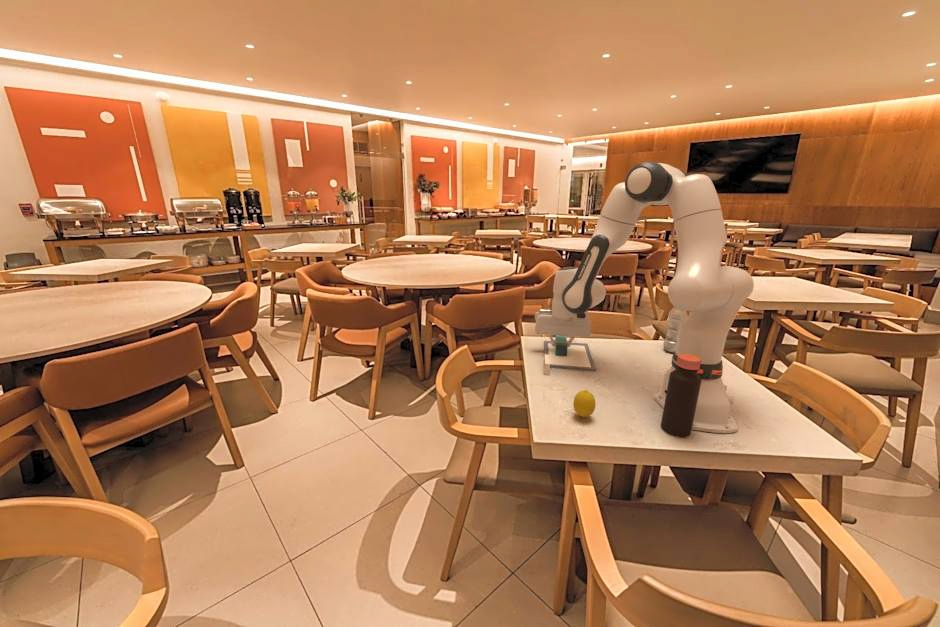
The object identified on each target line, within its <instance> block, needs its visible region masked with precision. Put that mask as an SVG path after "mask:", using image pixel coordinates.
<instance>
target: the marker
mask: <svg viewBox="0 0 940 627" xmlns="http://www.w3.org/2000/svg"><path fill="white" fill-rule="evenodd" d="M554 340H556V345H555V355H559V356H567V348H568V345H567V341H568V339H567V336H562V335H554Z"/></svg>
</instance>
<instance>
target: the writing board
mask: <svg viewBox="0 0 940 627" xmlns="http://www.w3.org/2000/svg"><path fill="white" fill-rule="evenodd" d="M543 348H544V349H543V351H544V352H543V353H544V354H543V355H544V356H543V357H545V354H548V355H549V356H550V369H562V370H573V371H574V370H575V371H588V372H597V367H596V365H595V362H594V359H593V356H592V353H591V350H590V347H589V344H588V343H583V342H582V343H581V342H571V344H570V347H568V348H567V356H559V355H555V346H552V341H551V340H543Z"/></svg>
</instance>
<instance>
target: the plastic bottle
mask: <svg viewBox="0 0 940 627" xmlns="http://www.w3.org/2000/svg"><path fill="white" fill-rule="evenodd" d="M688 316H689V315H688V311H683V310H680V309H678V308H676V307H675V306H673V307H672V308H671V310H670V311H669V312H668V317H667V318H668V319H667V320H668V323H667V324H668V325H667V332H666V334H665V339H664V340H663V349H664V350H665V351H666V352H668V353H672V354H673V353H674V351H676V345H677V340H678V334H679V329H680V326H681V325H682V323H683V322H684V321H685V320H686V319H687V318H688Z"/></svg>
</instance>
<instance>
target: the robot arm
mask: <svg viewBox="0 0 940 627" xmlns="http://www.w3.org/2000/svg"><path fill="white" fill-rule="evenodd" d="M720 201H721V200H720V198H719V195H718V191H717V190H716V188H715V185H714V183H713V181H712V180H711V178H710V177H709V176H708V175H705V174H703V173H702V174H701V173H696V174H689V175H688V173H686V172H685V171H684V170H682V169H681V168H678V167H674V166H672V165H670V164H668V163H663V162H656V161H643V162H640V163H638V164H636V165H634V166H633V167H631V169H630V170H629V172H628V173H627V174H626V177H625V180H624V182H620V183H619V182H618V183H617V184H615V186H613V188H612V190H611V191H610V194H609V195H608V197H607V199H606V201H605V202H604V204H603V207H602V209H601V212H600V214H599V217H598V219H597V224H596V226H595V229H594V231H593V233H592V236H591V238H590V241H589V243H588V245H587V247H586V249H585V251H584V254H583V256H582V258H581V260H580V263H579V264H578V267H577V266H565V267H560V268H559V269H557V271H556V272H555V274H554V280H553V289H552V292H553V298H552V302H551V309H541V308H540V309H538V310H536V311H535V312H534V320H535V323H534V332H535V334H536V335H546V336H547V335H549V336H548V337H549V339H550V341H552V346H555V345H556V340H555V339H554V336H555V335H562V336H566V337H569V340H567V345H568V347H570V344H571V343H573V341H574V340H575V337H576V338H577V337H579V338H589V337H590V336H591V334H592V333H591V332H592V327H591V326H592V325H591V320H590V319H589V317H590V313H589V311H588V310H589V309H592V308H594V307H596V306H598V305H599V304H600V303H602V302H603V301H604V300H605V298H606V295H607V288H606V286H605V284H604V283H603V282H602V281H601V280H599V279H597V276H598V275H599V272H600V270H601V268H602V266H603V264H604V263H605V261H606V260H607V259H608V258H609V257H610V256H611V255H612V254H613V253H614V252H616V251H617V250H618V249H620V248H621V247H623V246H624V245H625V244H626V243H627V242H628V240H629V238H630V236H631V235H632V233H633V231H634V230H635V226H636V224H637V222H638V219H639V217H640V215H641V212H642V211H643V209H644V208H647V207H648V206H651V207H669V208H670V211H671V215H672V220H673V226H674V230H675V231H674V232H675V237H676V244H677V250H678V253H677V254H678V255H677V265H676V271H675V274H674V275H673V278H672V279H671V280H670V282H669V284H668V286H667V298H668V300H669V302H670V303H671V304H672V305H673V307H676V308H678V309H680V310H683V311H686V312H690V313H689V315H688V317H687V319H686V320H685V321H684V322H683V323H682V325H681V326H680V329H679V334H678V340H677V345H676V351H674V353H672V356H671V366H670V367H669V368H668V370H665V372H664V373H663V377H662V380H661V384H660V390H659V392H657V393H654V395H653V399H654V400H655V402H656V403H658V404H659V406H661V407H662V409H664V404H665V399H666V393H667V387H668V382H669V376H670V373H671V372H672V371H674V370H675V369H677V366H676V362H677V357H678V355H679V354H691V355H695V356H697V357H699V358H700V359H701V363H700V368H699V371H697V374H698V375H699V376H700V378H701V379H702V381H701V386H700V391H699V396H698V401H697V405H696V410H695V415H694V420H693V425H692V429H691V430H695V431H699V432H706V433H716V434H731V433H736V432H738V430H739V429H738V428H739V427H738V425H737V423H736V421H735V418H734V416H733V415H732V413H731V405H733V404H734V397H733V396H732V395H728V394H727V385H725V384H724V381H723V379H722V376H723V372H724V371H723V369H724V366H723V359H722V358H723V354H724V349H725V347H726V346H725V345H726V340H727V336H728V335H729V332H730V329H731V327H732V325H733V323H734V322H735V319H736V317H737V315H738V313H739V311H740V309H741V307H742V305H743V304H744V303H745V301H746V300H747V299H748V298H749V297H750V296H751V294H752V293H753V291H754V284H755V283H754V280H753V277H752V275H751V273H749V272H748V271H746V270H745V269H743V268H741V267H740V268H739V267H737V266H736V267H734V266H731V265H730V266H729V265H722V266H721V260H722V259H721V258H722V252H723V249H724V246H726V244H727V242H728V235H727V230H726V225H725V220H724V215H723V210H722V207H721V202H720Z"/></svg>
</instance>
